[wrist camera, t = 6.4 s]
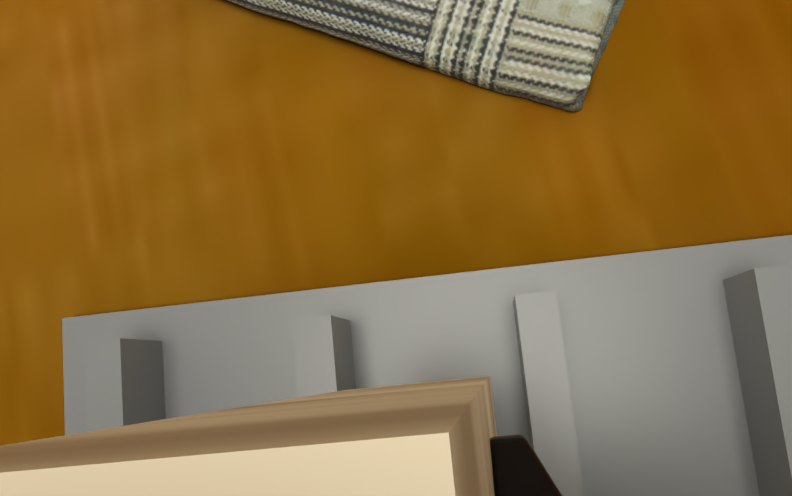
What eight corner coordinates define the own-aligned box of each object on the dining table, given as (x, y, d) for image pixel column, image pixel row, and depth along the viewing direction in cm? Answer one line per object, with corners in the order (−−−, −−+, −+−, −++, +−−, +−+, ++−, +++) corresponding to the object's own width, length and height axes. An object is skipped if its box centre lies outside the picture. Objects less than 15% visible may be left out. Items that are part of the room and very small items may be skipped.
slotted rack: (904, 622, 19) (982, 673, 16) (82, 668, 21) (14, 719, 18) (827, 233, 20) (885, 211, 17) (73, 319, 23) (8, 312, 20)
